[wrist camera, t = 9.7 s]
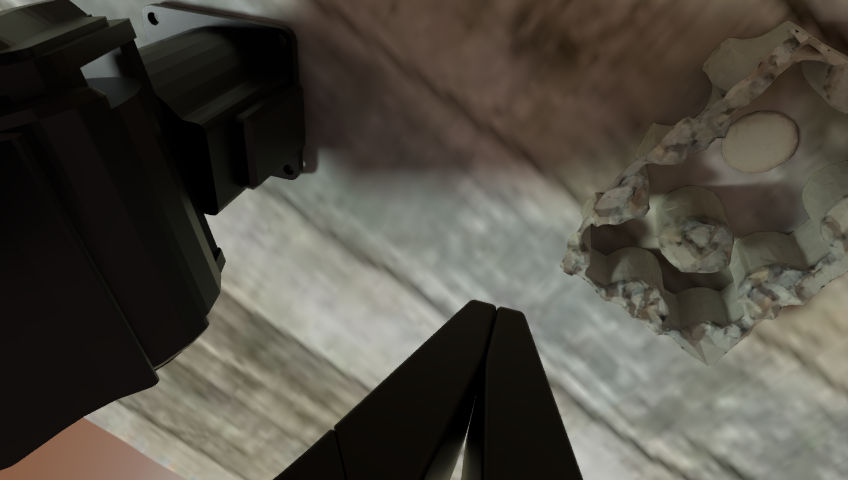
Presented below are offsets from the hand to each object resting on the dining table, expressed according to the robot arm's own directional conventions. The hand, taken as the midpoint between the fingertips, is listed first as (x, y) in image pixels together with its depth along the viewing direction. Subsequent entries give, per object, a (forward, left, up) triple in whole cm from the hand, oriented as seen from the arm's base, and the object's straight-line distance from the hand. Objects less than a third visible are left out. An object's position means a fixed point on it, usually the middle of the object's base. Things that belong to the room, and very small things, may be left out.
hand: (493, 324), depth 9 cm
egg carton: (+7, -3, -14) cm, 15 cm away
